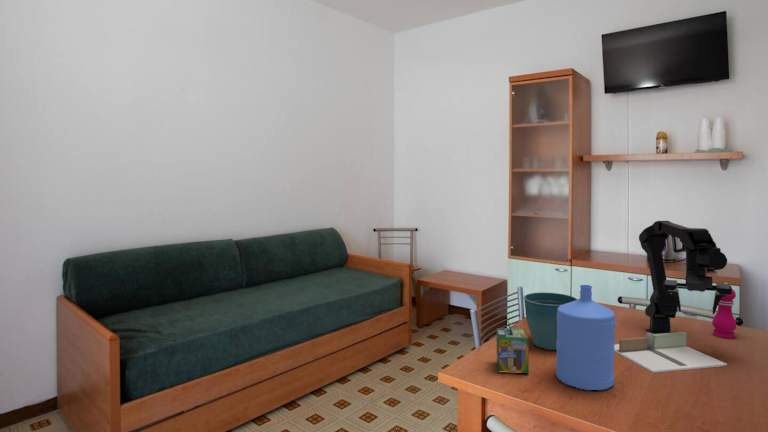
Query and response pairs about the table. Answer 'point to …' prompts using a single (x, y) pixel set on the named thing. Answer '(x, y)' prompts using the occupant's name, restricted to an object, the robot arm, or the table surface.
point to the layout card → (663, 355)
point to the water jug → (585, 343)
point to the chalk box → (512, 350)
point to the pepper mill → (725, 318)
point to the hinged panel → (669, 339)
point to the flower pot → (544, 317)
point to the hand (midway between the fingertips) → (696, 312)
